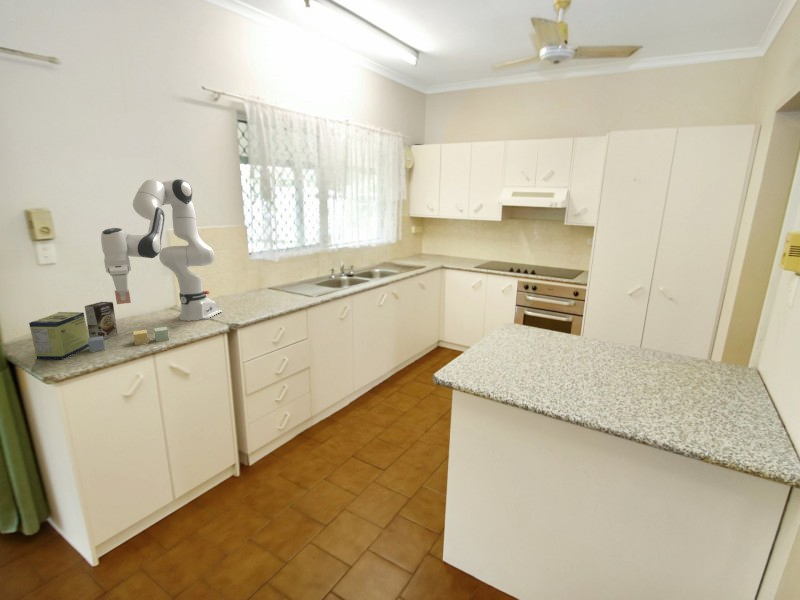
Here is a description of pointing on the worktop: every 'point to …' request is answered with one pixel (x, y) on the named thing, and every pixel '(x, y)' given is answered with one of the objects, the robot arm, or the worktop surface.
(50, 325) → the protein box
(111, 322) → the coffee box
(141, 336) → the ochre block
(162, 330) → the sage block
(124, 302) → the terracotta block
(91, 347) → the slate block
